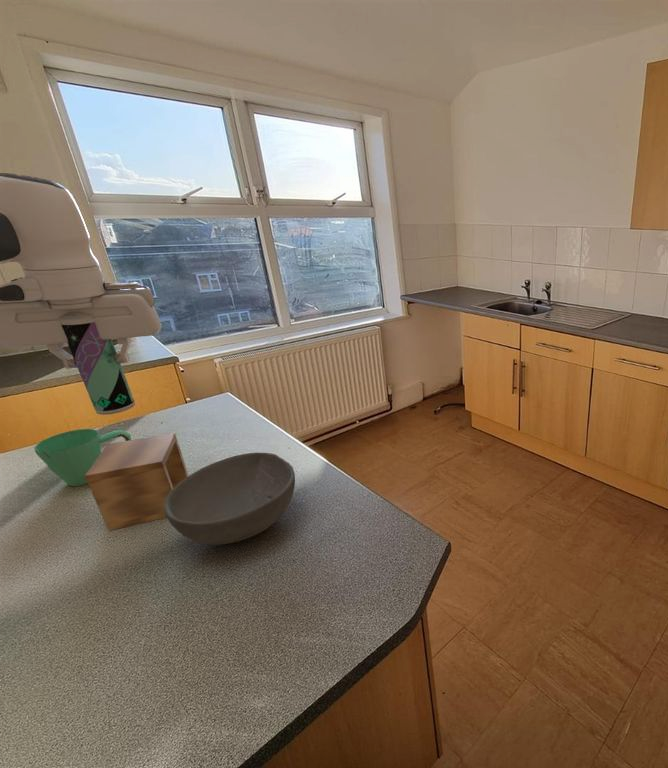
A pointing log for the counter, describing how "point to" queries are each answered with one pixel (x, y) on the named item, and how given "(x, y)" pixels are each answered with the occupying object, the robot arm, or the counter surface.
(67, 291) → the robot arm
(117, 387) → the spray can
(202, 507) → the bowl
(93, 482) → the wooden box
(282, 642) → the counter surface
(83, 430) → the mug
